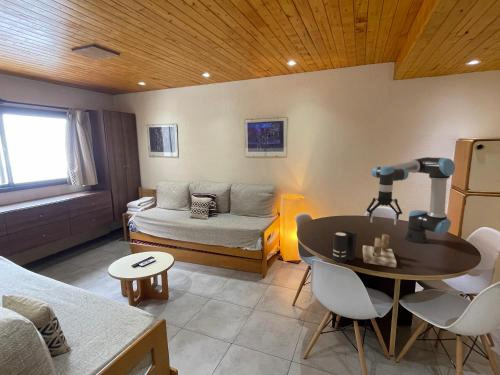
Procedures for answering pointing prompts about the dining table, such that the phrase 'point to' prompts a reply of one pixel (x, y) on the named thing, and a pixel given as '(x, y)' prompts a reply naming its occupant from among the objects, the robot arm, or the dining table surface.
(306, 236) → the dining table surface
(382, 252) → the seat board
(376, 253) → the oak peg
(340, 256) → the striped black canister
